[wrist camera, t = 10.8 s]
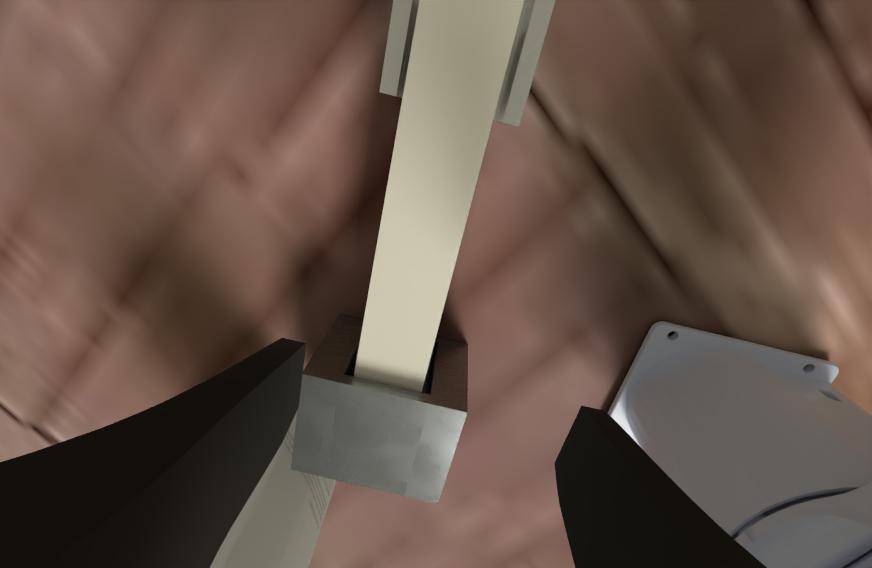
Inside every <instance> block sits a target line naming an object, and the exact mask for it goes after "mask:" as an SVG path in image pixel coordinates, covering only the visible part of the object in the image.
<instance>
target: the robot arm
mask: <svg viewBox="0 0 872 568" xmlns="http://www.w3.org/2000/svg"><path fill="white" fill-rule="evenodd" d="M672 331H675V333H674V334H673V335H672V336H668V334H669V333H670V332H672ZM305 346H306V343H302V342H298V341H293V340H289V339H285V338H281V339H279V340H277V341H276V342H274V343H272V344H270V345H269V346H267V347H265V348H263V349H262V350H260V351H258V352H257V353H255V354H253V355H251V356H250V357H248V358H246V359H245V360H243V361H241V362H239V363H238V364H236V365H234V366H232V367H231V368H229V369H227V370H225V371H223V372H222V373H220V374H218V375H216V376H214V377H213V378H211V379H209V380H207V381H205V382H203V383H201V384H199V385H197V386H195V387H193V388H191V389H189V390H187V391H185V392H183V393H181V394H179V395H177V396H175V397H173V398H171V399H169V400H167V401H165V402H162V403H160V404H158V405H156V406H154V407H151V408H149V409H147V410H145V411H142V412H140V413H138V414H135V415H133V416H130V417H128V418H125V419H123V420H121V421H118V422H116V423H113V424H111V425H108V426H106V427H103V428H100V429H98V430H95V431H92V432H89V433H86V434H84V435H81V436H78V437H75V438H72V439H69V440H67V441H64V442H61V443H58V444H55V445H52V446H50V447H47V448H44V449H41V450H38V451H35V452H32V453H29V454H26V455H23V456H20V457H16V458H13V459H10V460H7V461H3V462H0V568H210V566H211V564H212V562H213V560H214V558H215V556H216V554H217V552H218V550H219V549H220V547H221V545H222V543H223V541H224V540H225V538H226V536H227V534H228V532H229V531H230V529H231V527H232V525H233V524H234V522H235V521H236V519H237V517H238V516H239V514H240V512H241V511H242V509H243V507H244V506H245V504H246V502H247V501H248V499H249V497H250V496H251V494H252V493H253V491H254V489H255V488H256V486H257V484H258V483H259V481H260V479H261V478H262V476H263V474H264V473H265V471H266V469H267V468H268V466H269V464H270V463H271V461H272V459H273V458H274V456H275V454H276V453H277V451H278V449H279V448H280V446H281V444H282V443H283V440H284V438H285V436H286V434H287V432H288V430H289V428H290V425H291V423H292V421H293V419H294V416H295V414H296V412H297V410H298V407H299V400H300V391H301V382H302V373H303V364H304V355H305ZM806 365H808V366H807V367H805V366H806ZM804 367H805V368H804ZM838 372H839V368H838V367H837V366H836V365H835V364H833V363H832V362H830V361H827V360H822V359H818V358H814V357H810V356H806V355H802V354H798V353H793V352H789V351H785V350H781V349H777V348H773V347H768V346H764V345H760V344H756V343H752V342H748V341H743V340H739V339H735V338H731V337H727V336H723V335H718V334H714V333H710V332H706V331H702V330H698V329H694V328H689V327H685V326H681V325H677V324H673V323H669V322H664V321H660V322H656V323H655V324H653V325H652V326H651V328H650V330H649V332H648V334H647V336H646V338H645V340H644V342H643V344H642V346H641V348H640V350H639V351H638V353H637V355H636V357H635V359H634V361H633V363H632V365H631V367H630V369H629V371H628V373H627V375H626V377H625V379H624V381H623V383H622V385H621V387H620V389H619V391H618V393H617V395H616V397H615V399H614V401H613V403H612V405H611V407H610V409H609V411H608V413H606V412H605V411H603V410H599V409H594V408H590V407H585V406H581V408H580V410H579V412H578V415H577V417H576V419H575V421H574V423H573V425H572V427H571V429H570V432H569V434H568V436H567V438H566V440H565V442H564V444H563V446H562V449H561V451H560V453H559V455H558V457H557V459H556V461H555V471H556V481H557V489H558V496H559V503H560V508H561V512H562V516H563V520H564V524H565V528H566V532H567V537H568V540H569V544H570V548H571V552H572V556H573V560H574V564H575V568H872V416H871V415H870V414H869V413H867V412H866V411H865V410H863V409H862V408H861V407H859V406H858V405H857V404H855V403H854V402H853V401H851V400H850V399H849V398H847V397H846V396H845V395H843V394H842V393H840V392H839V391H838V390H836V389H835V388H834V387H832V386H831V385H830V384H831V383H832V381H833V380H834V379H835V377H836V376H837V374H838Z"/></svg>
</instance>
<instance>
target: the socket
mask: <svg viewBox="0 0 872 568" xmlns="http://www.w3.org/2000/svg"><path fill="white" fill-rule="evenodd" d="M362 326H363V319H359V318H354V317H350V316H346V315H342V314H340V315H339V317H338V319H337V320H336V322H335V323H334V325H333V326H332V328H331V329H330V331H329V332H328V334H327V335H326V337H325V338H324V340H323V342H322V343H321V345H320V346H319V348H318V349H317V351H316V352H315V354H314V355H313V357H312V358H311V360H310V361H309V363H308V364H307V366H306V368H305V369H304V371H303V373H302V382H301V391H300V400H299V407H298V410H297V418H296V427H295V436H294V445H293V454H292V463H291V470H295V471H299V472H303V473H308V474H312V475H316V476H321V477H325V478H329V479H334V480H338V481H342V482H347V483H351V484H355V485H360V486H364V487H368V488H373V489H377V490H381V491H386V492H390V493H395V494H399V495H403V496H408V497H412V498H416V499H421V500H425V501H429V502H434V503H438V501H439V498H440V495H441V492H442V489H443V486H444V483H445V480H446V477H447V473H448V470H449V467H450V464H451V461H452V458H453V455H454V452H455V449H456V446H457V443H458V440H459V437H460V434H461V431H462V428H463V425H464V421H465V418H466V415H467V391H468V344H464V343H460V342H455V341H451V340H447V339H443V338H439V337H436V339H435V343H434V347H433V351H432V354H431V358H430V362H429V366H428V370H427V373H426V377H425V381H424V385H423V389H422V392H418V391H413V390H409V389H405V388H401V387H396V386H392V385H388V384H384V383H379V382H375V381H371V380H367V379H362V378H358V377H354V372H355V366H356V360H357V355H358V349H359V343H360V338H361V332H362Z"/></svg>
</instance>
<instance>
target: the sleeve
mask: <svg viewBox="0 0 872 568" xmlns="http://www.w3.org/2000/svg"><path fill="white" fill-rule="evenodd" d="M419 1H420V0H393V6H392V13H391V19H390V26H389V32H388V39H387V45H386V52H385V58H384V65H383V71H382V78H381V84H380V91H379V92H380V93H384V94H388V95H391V96H395V97H399V98H403V92H404V86H405V81H406V75H407V69H408V64H409V58H410V52H411V47H412V41H413V35H414V29H415V24H416V18H417V12H418V7H419ZM554 4H555V0H524V4H523V7H522V11H521V15H520V19H519V23H518V27H517V30H516V34H515V38H514V42H513V46H512V49H511V53H510V57H509V61H508V65H507V68H506V72H505V76H504V80H503V84H502V88H501V91H500V95H499V99H498V103H497V107H496V110H495V114H494V118H493V121H496V122H500V123H504V124H508V125H513V126H518V127H519V125H520V122H521V118H522V115H523V111H524V108H525V104H526V101H527V97H528V94H529V90H530V87H531V84H532V80H533V77H534V73H535V70H536V66H537V63H538V59H539V56H540V52H541V49H542V45H543V42H544V38H545V35H546V32H547V28H548V25H549V21H550V18H551V14H552V11H553V7H554Z"/></svg>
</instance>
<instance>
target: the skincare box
mask: <svg viewBox="0 0 872 568" xmlns="http://www.w3.org/2000/svg"><path fill="white" fill-rule="evenodd" d="M296 418H297V412H296V414H295V416H294V419H293V421H292V423H291V425H290V428H289V430H288V432H287V434H286V436H285V438H284V440H283V443H282V444H281V446H280V448H279V449H278V451H277V453H276V454H275V456H274V458H273V459H272V461H271V463H270V464H269V466H268V468H267V469H266V471H265V473H264V474H263V476H262V478H261V479H260V481H259V483H258V484H257V486H256V488H255V489H254V491H253V493H252V494H251V496H250V497H249V499H248V501H247V502H246V504H245V506H244V507H243V509H242V511H241V512H240V514H239V516H238V517H237V519H236V521H235V522H234V524H233V525H232V527H231V529H230V531H229V532H228V534H227V536H226V538H225V540H224V541H223V543H222V545H221V547H220V549H219V550H218V552H217V554H216V556H215V558H214V560H213V562H212V564H211V566H210V568H308V567H309V564H310V561H311V558H312V555H313V552H314V549H315V545H316V542H317V539H318V536H319V533H320V530H321V527H322V524H323V521H324V518H325V514H326V511H327V508H328V505H329V502H330V499H331V496H332V493H333V490H334V486H335V484H336V480H334V479H329V478H325V477H321V476H316V475H312V474H308V473H303V472H299V471H295V470H291V463H292V454H293V445H294V436H295V427H296Z"/></svg>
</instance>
